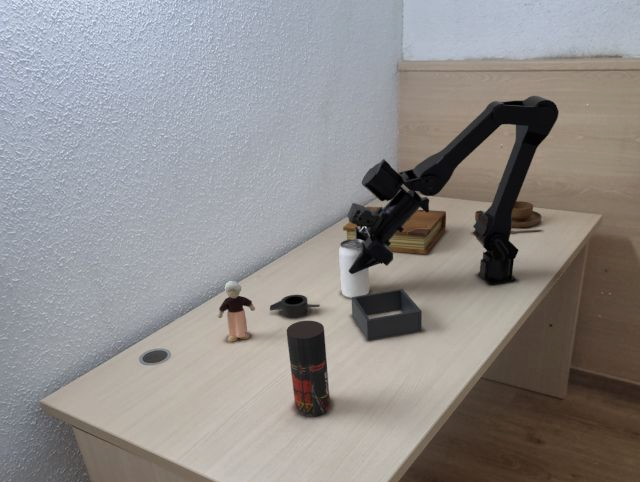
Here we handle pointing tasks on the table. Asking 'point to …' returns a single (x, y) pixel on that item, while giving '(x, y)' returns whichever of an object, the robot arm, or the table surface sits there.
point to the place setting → (522, 216)
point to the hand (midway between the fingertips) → (348, 266)
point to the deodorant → (309, 367)
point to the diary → (413, 232)
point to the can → (347, 255)
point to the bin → (386, 324)
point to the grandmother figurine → (235, 311)
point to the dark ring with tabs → (293, 306)
